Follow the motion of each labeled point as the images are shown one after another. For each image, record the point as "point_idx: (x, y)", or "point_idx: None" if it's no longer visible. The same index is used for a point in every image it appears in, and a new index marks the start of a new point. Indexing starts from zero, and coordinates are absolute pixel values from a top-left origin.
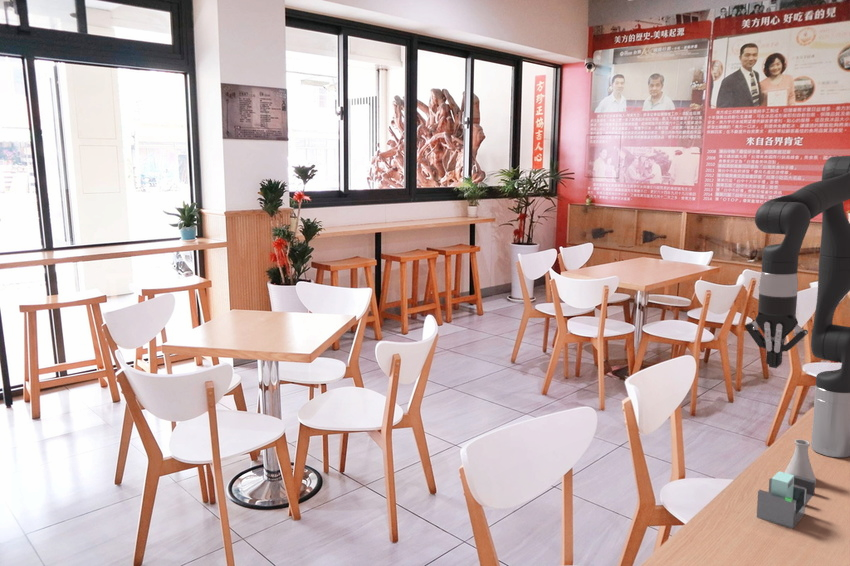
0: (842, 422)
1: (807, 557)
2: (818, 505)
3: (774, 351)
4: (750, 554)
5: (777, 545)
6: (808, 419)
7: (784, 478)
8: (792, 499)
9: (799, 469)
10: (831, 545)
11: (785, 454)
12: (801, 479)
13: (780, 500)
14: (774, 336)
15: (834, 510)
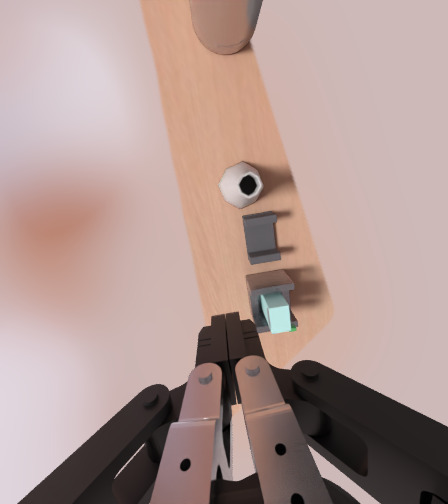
0: None
1: (313, 336)
2: (283, 232)
3: (232, 381)
4: (276, 367)
5: (286, 338)
6: None
7: (283, 322)
8: (293, 321)
9: (248, 199)
10: (322, 302)
11: (183, 105)
12: (261, 224)
13: None
14: (219, 461)
15: (301, 230)
